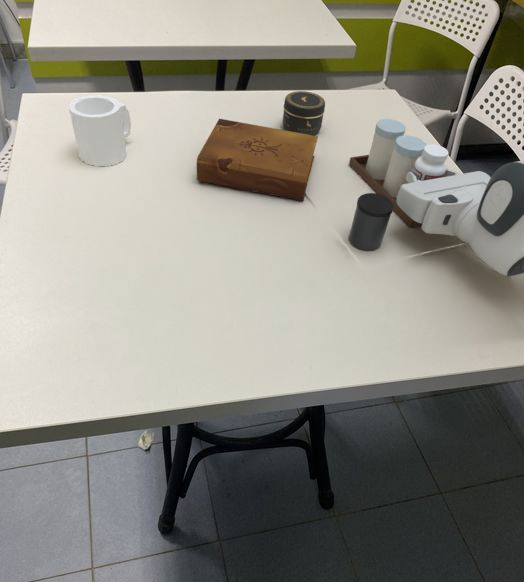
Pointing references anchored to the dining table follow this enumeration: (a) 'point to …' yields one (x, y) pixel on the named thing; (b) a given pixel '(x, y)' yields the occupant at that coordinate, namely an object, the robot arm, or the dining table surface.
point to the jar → (303, 112)
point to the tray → (379, 188)
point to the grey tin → (370, 221)
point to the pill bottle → (431, 163)
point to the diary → (257, 159)
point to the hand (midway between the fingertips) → (424, 172)
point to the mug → (100, 129)
